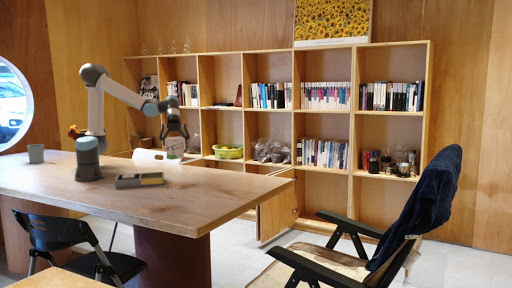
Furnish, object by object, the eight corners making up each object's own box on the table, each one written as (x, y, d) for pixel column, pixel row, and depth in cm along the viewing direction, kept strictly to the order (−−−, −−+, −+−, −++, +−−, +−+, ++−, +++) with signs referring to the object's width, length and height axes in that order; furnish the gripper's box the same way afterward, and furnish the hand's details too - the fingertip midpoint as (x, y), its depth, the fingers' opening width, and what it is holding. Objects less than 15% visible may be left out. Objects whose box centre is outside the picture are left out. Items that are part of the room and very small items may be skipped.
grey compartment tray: (115, 189, 201) (115, 179, 200) (118, 182, 215) (117, 173, 214) (164, 185, 207) (164, 176, 206) (163, 179, 221) (163, 170, 220)
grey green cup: (40, 160, 278) (39, 143, 277) (48, 162, 273) (46, 145, 271) (25, 162, 270) (24, 145, 268) (32, 164, 264) (31, 147, 263)
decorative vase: (114, 166, 254) (108, 123, 249) (75, 173, 241) (69, 128, 236) (106, 161, 271) (100, 121, 266) (69, 167, 258) (63, 125, 253)
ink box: (171, 159, 214) (170, 138, 212) (166, 158, 217) (165, 137, 215) (184, 157, 220) (184, 137, 218) (179, 156, 223) (178, 136, 221)
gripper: (192, 121, 234) (195, 152, 221) (154, 122, 229) (154, 153, 216) (193, 113, 228) (196, 144, 215) (153, 113, 223) (154, 145, 210)
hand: (175, 149), depth 216 cm, fingers closed on ink box, 9 cm apart
